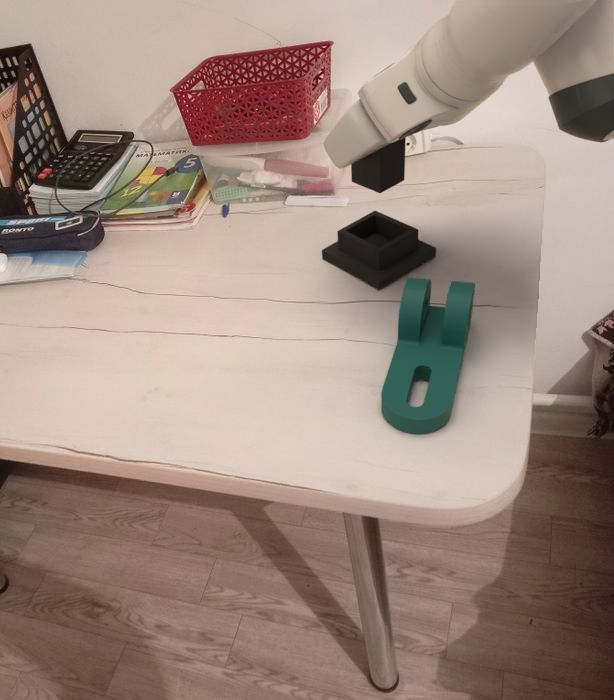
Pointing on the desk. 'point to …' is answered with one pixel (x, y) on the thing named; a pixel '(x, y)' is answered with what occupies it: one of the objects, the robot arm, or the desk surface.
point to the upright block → (381, 167)
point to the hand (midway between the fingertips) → (373, 144)
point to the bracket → (427, 356)
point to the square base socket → (378, 250)
